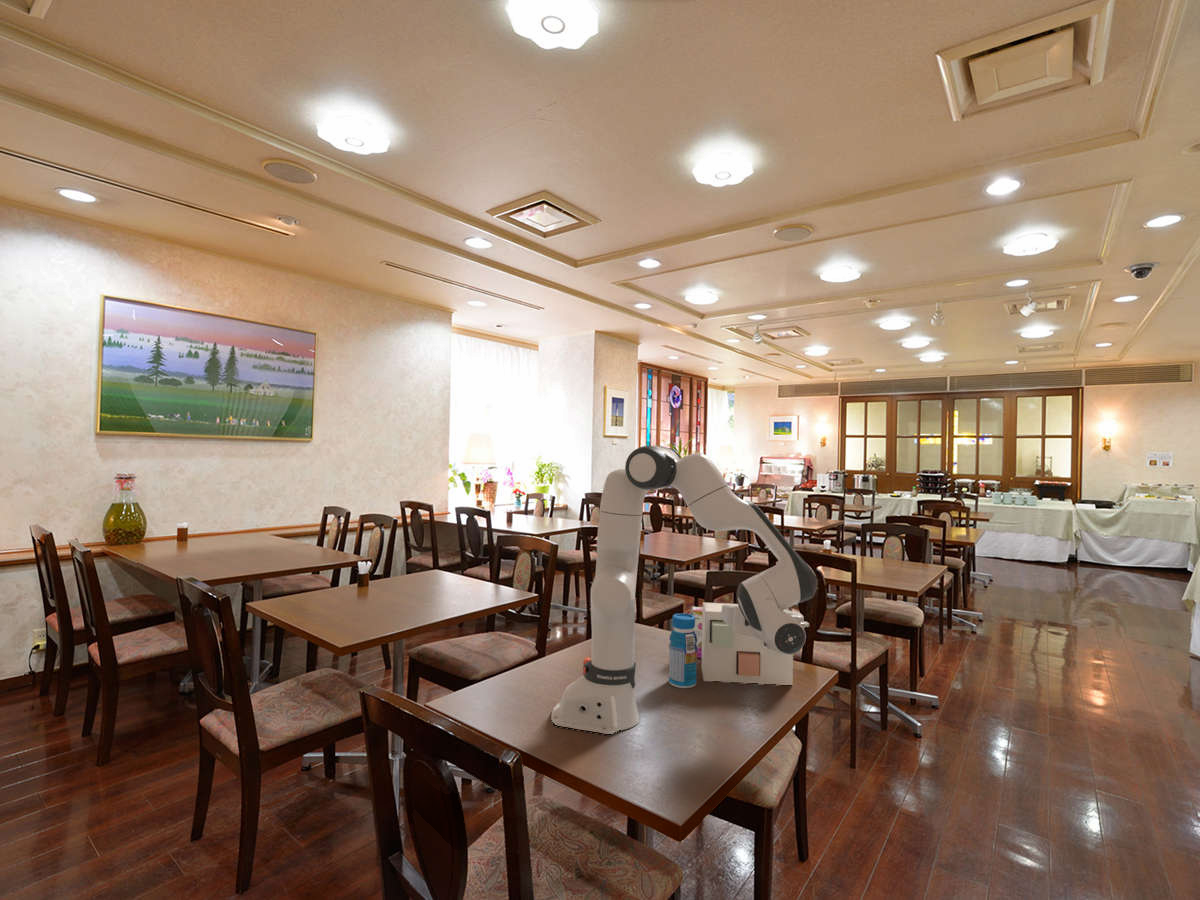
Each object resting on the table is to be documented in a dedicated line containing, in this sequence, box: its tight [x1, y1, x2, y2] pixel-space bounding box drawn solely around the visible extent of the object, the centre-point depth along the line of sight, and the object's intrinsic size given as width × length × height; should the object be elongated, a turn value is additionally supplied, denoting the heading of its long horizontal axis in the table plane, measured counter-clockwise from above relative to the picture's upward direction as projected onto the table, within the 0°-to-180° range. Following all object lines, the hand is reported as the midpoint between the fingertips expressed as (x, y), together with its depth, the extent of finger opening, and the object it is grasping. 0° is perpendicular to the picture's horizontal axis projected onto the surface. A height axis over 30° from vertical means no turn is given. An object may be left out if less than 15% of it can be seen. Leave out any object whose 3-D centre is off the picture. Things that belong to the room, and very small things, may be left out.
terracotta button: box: [736, 651, 760, 676], centre depth 176 cm, size 6×6×6 cm
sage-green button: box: [711, 620, 734, 647], centre depth 174 cm, size 6×6×6 cm
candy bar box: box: [690, 606, 703, 660], centre depth 196 cm, size 11×5×16 cm, turn 84°
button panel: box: [700, 602, 794, 686], centre depth 180 cm, size 26×10×21 cm, turn 84°
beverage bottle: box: [668, 613, 698, 689], centre depth 173 cm, size 8×8×20 cm
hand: (754, 610), depth 156 cm, fingers closed
